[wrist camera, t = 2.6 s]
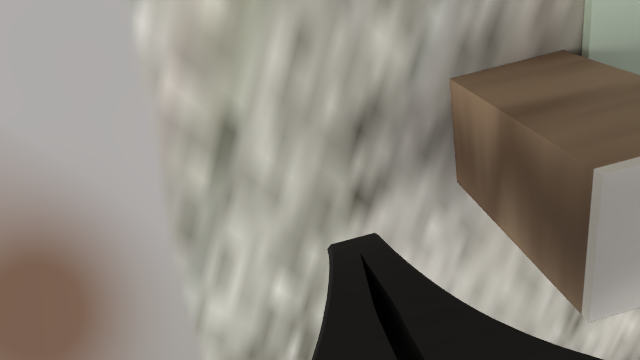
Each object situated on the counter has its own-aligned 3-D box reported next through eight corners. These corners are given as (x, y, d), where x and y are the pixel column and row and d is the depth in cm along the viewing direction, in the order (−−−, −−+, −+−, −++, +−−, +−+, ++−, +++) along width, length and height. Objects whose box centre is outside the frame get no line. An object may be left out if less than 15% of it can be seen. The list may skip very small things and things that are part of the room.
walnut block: (558, 155, 20) (746, 277, 13) (457, 181, 20) (588, 322, 12) (562, 50, 18) (791, 124, 11) (449, 78, 18) (603, 174, 10)
